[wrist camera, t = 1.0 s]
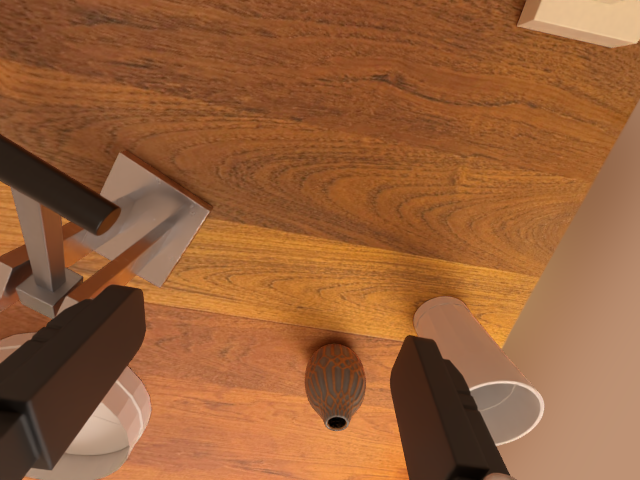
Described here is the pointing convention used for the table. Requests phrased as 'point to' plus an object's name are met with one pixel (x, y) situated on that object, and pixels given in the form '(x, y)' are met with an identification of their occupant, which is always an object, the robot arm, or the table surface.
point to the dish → (98, 427)
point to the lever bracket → (123, 234)
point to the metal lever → (49, 222)
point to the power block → (585, 20)
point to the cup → (482, 368)
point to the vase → (335, 384)
